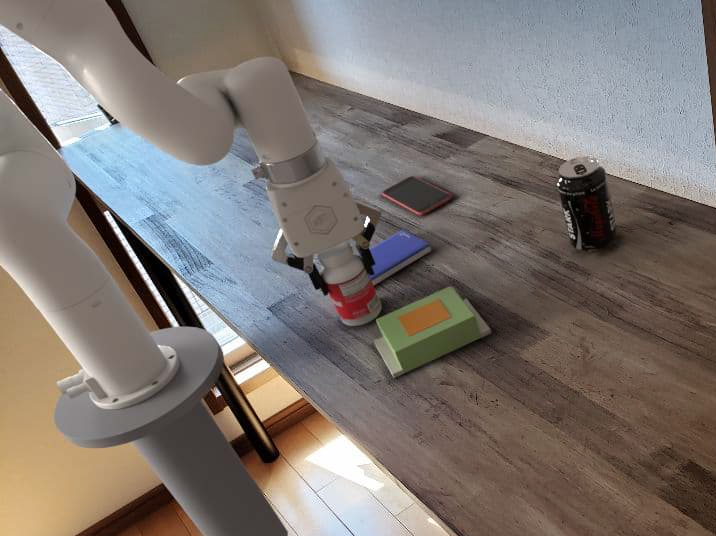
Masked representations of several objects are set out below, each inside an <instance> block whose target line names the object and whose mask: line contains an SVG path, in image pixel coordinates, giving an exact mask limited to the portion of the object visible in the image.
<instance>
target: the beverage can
mask: <svg viewBox="0 0 716 536" xmlns="http://www.w3.org/2000/svg"><path fill="white" fill-rule="evenodd" d="M558 174H559V175H558V176H557V179H556V186H557V190H558V195H559V200H560V205H561V209H562V213H563V217H564V222H565V226H566V230H567V234H568V238H569V242H570V245H571V246H572V247H573V248H575V249H576V250H578V251H581V252H582V251H583V252H586V253H595V252H598V251H599V252H600V251H602V250H604V249H605V248H607V247H608V246H609V245H611V244H612V243H613V242H614V241H615V240H616V238H617V236H618V232H617V231H618V230H617V225H616V218H615V214H614V208H613V202H612V197H611V193H610V192H611V191H610V187H609V182H608V176H607V172H606V170H605V168H604V167H603V166H602V165H600V160H599V159H598V158H596V157H593V156H579V157H578V156H577V157H574V158H571V159H569V160H567V161H565V162H563V163H562V164H561V165H560V166H559V168H558Z"/></svg>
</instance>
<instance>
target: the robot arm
mask: <svg viewBox="0 0 716 536" xmlns="http://www.w3.org/2000/svg"><path fill="white" fill-rule="evenodd" d="M0 25H1V26H2V27H4V28H5V29H7V30H8V31H10V32H11V33H13V34H14V35H16V36H18V37H19V38H20V39H23V41H25V42H27V43H28V44H29V45H31V46H32V47H34V48H35V49H36V50H38V51H40V52H41V53H43V54H44V55H46V56H47V57H49V58H50V59H52V60H53V61H55V62H56V63H57V64H58V65H60V66H61V67H62V68H63V69H64V70H65V71H66V72H67V73H68V74H69V75H70V77H71V78H72V79H73V80H74V81H75V82H76V83H77V84H78V86H80V88H82V89H83V90H84V91H85V92H86V93H87V94H88V95H89V96H90V97H91V98H92V99H93V100H94V101H95V102H96V103H97V104H98V105H99V106H100V107H101V108H103V109H104V110H105V111H106V112H107V113H108V114H109V115H110V116H111V117H112V118H113V119H115V120H116V121H117V122H119V123H120V124H121V125H122V126H124V127H125V128H126V129H128V130H129V131H131V132H132V133H134V134H135V135H137V136H139V137H140V138H141V139H143V140H144V141H146V142H148V143H149V144H151V145H152V146H154V147H156V148H157V149H159V150H160V151H161V152H162V153H165V154H167V155H169V156H170V157H172V158H174V159H176V160H178V161H180V162H183V163H185V164H188V165H193V166H202V167H203V166H204V167H205V166H211V165H214V164H216V163H218V162H221V161H222V160H224V159H225V157H226V156H227V155H228V154H229V153H230V151H231V150H232V149H231V148H232V146H233V143H234V139H235V131H237V129H239V128H241V129H243V130H244V131H245V133H246V135H247V137H248V139H249V142H250V144H251V145H252V148H253V149H254V152H255V154H256V156H257V158H258V160H259V162H258V163H257V165H256V167H254V168H252V169H251V170H250V171H251V173H252V175H253V177H254V179H255V181H257V180H259V179H262V180H263V179H265V180H266V182H265V188H266V193H267V196H268V200H269V203H270V205H271V208H272V211H273V215H274V216H275V218H276V221H277V224H278V225H279V228H280V229H279V231H278V234H277V236H276V239H275V242H274V243H273V246H272V249H271V251H270V253H269V255H270V258H271V259H272V261H274V262H276V263H279V264H282V265H287V266H289V267H290V268H293V269H295V270H299V271H303V272H304V273H305V274H307V275H308V277H309V279H310V281H311V283H312V286H313V288H314V289H315V291H318V290H321V292H322V294H323V296H324V297H326V296H328V295H329V292H328V290H327V288H326V286H325V284H324V282H323V280H322V278H321V274H320V271H319V269H318V267H317V265H316V264H315V262H314V255H317V253H319V252H321V251H324V250H326V249H329V248H331V247H333V246H336V245H338V244H340V243H343V242H345V241H349V240H351V239H352V240H353V241H354V242H355V245H354V246H355V248H356V250H357V253H358V256H359V255H360V257H361V259H362V260H363V262H364V264H365V267H366V269H367V272H368V273H369V275H371V276H372V275H374V274H375V273H374V271H373V268H372V266H373V265H376V264H375V261H374V259H373V256H372V254H371V252H370V249H371V248H370V246H371V240H372V238H373V236H374V235H375V232H376V227H377V226H378V223H379V221H380V219H381V217H382V212H381V211H380V209H379V208H378V207H376V206H373V205H370V204H367V203H365V202H362V201H360V200H357V199H355V198H354V196H353V194H352V191H351V190H350V187H349V186H348V183H347V182H346V180H345V178H344V176H343V174H342V172H341V171H340V170H339V168H338V166H337V164H336V163H335V162H334V161H333V160H332V159H331V158H330V157H327V156H325V154H324V152H323V150H322V147H321V145H320V143H319V140H318V138H317V136H316V133H315V130H314V129H313V126H312V124H311V121H310V119H309V117H308V114H307V111H306V110H305V109H306V108H305V107H304V104H303V102H302V100H301V97H300V95H299V92H298V90H297V88H296V86H295V83H294V81H293V78H292V76H291V73H290V71H289V69H288V67H287V65H286V64H285V63H284V62H283V61H282V60H281V59H280V58H278V57H275V56H259V57H256V58H252V59H250V60H247V61H243V62H242V63H240V64H237V65H236V66H234V67H230V68H224V69H218V70H210V71H202V72H197V73H192V74H189V75H186V76H184V77H183V78H181V79H179V80H178V81H177V82H176V81H174V80H173V79H171V77H169V76H168V75H166V74H165V73H164V72H162V71H161V70H160V69H159V68H158V67H156V66H155V65H154V64H153V63H151V61H149V59H147V57H145V56H144V55H143V54H142V53H141V52H140V50H139V49H138V48H137V47H136V46H135V45H134V44H133V42H132V41H131V39H130V38H129V37H128V35H127V34H126V32H125V31H124V29H123V27H122V26H121V23H120V21H119V20H118V18H117V16H116V14H115V13H114V11H113V9H112V8H111V7H110V5H108V3H107V2H106V0H0ZM76 191H77V184H76V180H75V176H74V174H73V172H72V169H71V168H70V166H69V165H68V163H67V162H66V160H65V159H64V158H63V156H62V155H61V154H60V153H59V151H58V150H56V148H55V147H54V145H52V144H51V143H50V142H49V141H48V139H47V138H46V137H45V136H44V135H43V133H42V132H41V131H40V130H39V129H38V128H37V127H36V126H35V124H33V122H32V121H31V120H30V119H29V118H28V117H27V116H26V115H25V113H24V112H23V111H22V110H21V109H20V108H19V106H17V104H16V103H15V102H14V101H13V100H12V99H11V98H10V97H9V96H8V94H7V93H5V92H4V90H2V89H1V88H0V267H2V269H3V270H5V272H6V273H8V274H9V276H10V277H11V278H12V280H13V281H15V282H16V284H17V285H18V286H19V287H20V288H21V289H22V291H23V292H24V294H25V295H26V296H27V297H28V298H29V300H30V301H31V303H33V305H34V307H35V308H36V309H37V310H38V311H39V312H40V314H41V315H42V316H43V318H44V319H45V320H46V322H47V323H48V325H49V326H50V327H51V328H52V330H53V331H54V332H55V333H56V335H57V336H58V337H59V339H60V340H61V341H62V343H63V344H64V345H65V346H66V348H67V349H68V350H69V352H70V353H71V354H72V356H73V357H74V358H75V360H76V361H77V362H78V364H79V365H80V366H81V367H82V368H81V369H79V370H78V373H77V374H74V375H72V376H68V377H65V378H63V379H62V380H58V381H57V382H56V386H57V388H58V390H59V391H60V393H61V394H68V395H69V397H70V398H75V397H77V396H79V395H81V394H83V393H85V392H87V391H88V392H89V393H90V397H91V399H92V401H93V402H94V403H95V405H97V406H98V407H100V408H103V409H111V410H112V409H121V408H126V407H129V406H132V405H135V404H138V403H140V402H142V401H144V400H146V399H148V398H150V397H151V396H153V395H155V394H156V393H157V392H159V391H160V390H162V389H163V388H164V387H165V386H166V385H167V384H168V383H169V382H170V381H171V380H172V379H173V378H174V376H175V375H176V373H177V371H178V369H179V366H180V358H179V356H178V355H177V353H176V352H175V351H174V349H172V348H170V347H167V346H159V345H157V344H156V342H155V341H154V339H153V338H152V336H151V335H150V332H149V330H148V328H147V327H146V326H145V325H144V322H143V321H142V319H141V318H140V317H139V316H138V314H137V312H136V311H135V310H134V308H133V306H132V305H131V303H130V302H129V301H128V298H126V296H125V294H124V293H123V292H122V290H121V288H120V287H119V285H118V284H117V282H116V281H115V279H114V278H113V276H112V274H111V273H110V272H109V271H108V269H107V268H106V266H105V265H104V263H103V262H102V260H101V259H100V258H99V256H98V255H97V254H96V253H95V251H94V250H93V249H92V248H91V247H90V245H88V244H87V242H85V240H83V239H82V238H81V237H80V236H79V235H78V234H77V233H76V232H75V231H74V230H73V228H72V227H71V226H70V224H69V223H68V217H69V213H70V211H71V209H72V206H73V203H74V201H75V197H76ZM362 215H363V216H366V219H365V222H364V219H363V216H362ZM287 246H288V248H289V249H290V251H291V252H292V253H287V252H286V249H287Z"/></svg>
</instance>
